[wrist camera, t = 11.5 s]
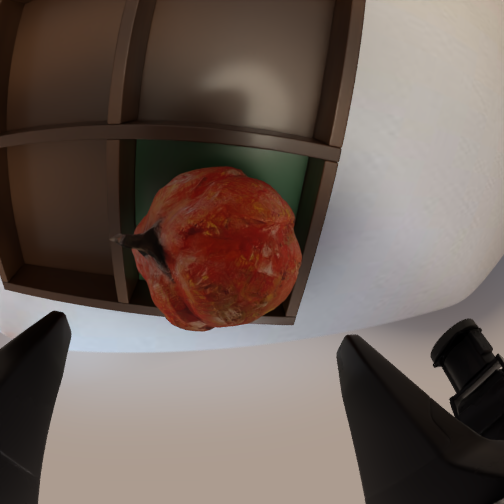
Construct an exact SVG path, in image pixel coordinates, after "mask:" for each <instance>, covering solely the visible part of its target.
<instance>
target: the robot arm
mask: <svg viewBox="0 0 504 504" xmlns="http://www.w3.org/2000/svg"><path fill="white" fill-rule="evenodd" d="M481 332H482V329H481V328H475V329H469V330H462V331H457V332H456V333H455V334H454V336H453V337H452V338H451V340H450V341H449V343H448V344H447V346H446V347H445V348H444V350H443V351H442V353H441V354H440V355H439V357H438V358H437V359H436V361H435V362H434V363H433V367H434V368H436V367H442V369H443V370H444V372H445V374H446V375H447V377H448V379H449V381H450V382H451V384H452V386H453V388H454V390H455V391H456V393H457V394H455V395H454V396H452V397H451V398H450V399H449V400H450V404H451V408H452V410H453V413H454V416H455V417H454V416H452V415H451V414H450V413H448V412H447V411H446V410H445V409H444V408H442V407H441V406H440V405H439V404H438V403H436V402H435V401H434V400H433V399H432V398H430V397H429V396H428V395H427V394H426V393H425V392H424V391H423V390H421V389H420V388H419V387H418V386H417V385H416V384H414V383H413V382H412V381H411V380H410V379H408V377H406V376H405V375H404V374H403V373H402V372H401V371H399V370H398V369H397V368H396V367H395V366H394V365H393V364H391V363H390V362H389V361H388V360H387V359H385V358H384V357H383V356H382V355H381V354H380V353H378V352H377V351H376V350H375V349H374V348H373V347H372V346H371V345H369V344H368V343H367V342H366V341H365V340H364V339H362V338H361V337H360V336H358V335H346V336H345V337H344V339H343V341H342V343H341V345H340V347H339V349H338V351H337V364H338V370H339V378H340V385H341V392H342V397H343V402H344V406H345V410H346V414H347V418H348V422H349V427H350V431H351V435H352V439H353V444H354V448H355V453H356V457H357V462H358V466H359V471H360V476H361V481H362V486H363V491H364V496H365V502H366V504H504V359H503V357H501V356H500V355H499V354H497V355H496V357H495V356H494V355H493V353H492V350H493V348H492V346H491V345H490V344H489V342H488V341H487V340H486V338H485V337H484V335H483V334H482V333H481ZM70 340H71V329H70V327H69V324H68V321H67V318H66V315H65V314H64V313H63V312H59V311H52V312H50V313H49V314H48V315H46V316H45V317H43V318H42V319H40V320H39V321H38V322H36V323H35V324H33V325H32V326H31V327H29V328H28V329H26V330H25V331H24V332H22V333H21V334H20V335H18V336H17V337H15V338H14V339H13V340H11V341H10V342H9V343H7V344H6V345H5V346H4V347H2V348H1V349H0V504H38V495H39V485H40V476H41V469H42V462H43V455H44V450H45V445H46V439H47V434H48V430H49V426H50V421H51V417H52V413H53V408H54V405H55V401H56V397H57V394H58V390H59V387H60V384H61V380H62V376H63V372H64V367H65V362H66V357H67V352H68V348H69V344H70ZM501 366H502V369H499V368H500V367H501ZM498 369H499V370H498Z"/></svg>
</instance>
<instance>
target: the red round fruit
mask: <svg viewBox="0 0 504 504" xmlns="http://www.w3.org/2000/svg"><path fill="white" fill-rule="evenodd" d="M294 222H295V216H294V213H293V211H292V209H291V208H290V206H289V205H288V203H287V202H286V201H285V200H284V199H283V198H282V197H281V196H280V195H279V194H278V193H277V191H276V190H275V189H273V188H272V187H271V186H270V185H269V184H267V183H265V182H264V181H261V180H258V179H254V178H250V177H247V176H246V175H245V174H244V173H243V172H242V170H239V169H236V168H233V167H228V166H224V167H209V168H201V169H196V170H192V171H189V172H185V173H182V174H180V175H178V176H176V177H175V178H173V179H172V180H171V181H170V182H169V183H168V184H167V185H166V186H164V187H163V188H161V189H160V190H159V191H158V192H157V194H156V195H155V197H154V199H153V202H152V204H151V206H150V209H149V211H148V214H147V215H146V216H145V217H144V218H143V219H142V221H141V222H140V223H139V224H138V225H137V227H136V229H135V231H134V235H132V234H120V233H119V234H117V235H115V236H113V237H112V238H110V239H109V240H110V241H112V242H115V243H117V244H119V245H121V246H122V247H124V248H131V249H132V253H133V255H134V258H135V262H136V266H137V269H138V271H139V272H140V273H141V275H142V277H143V278H144V279H145V280H146V281H147V284H148V287H149V290H150V294H151V298H152V300H153V302H154V304H155V305H156V306H157V308H158V309H159V310H160V311H161V312H162V313H163V314H164V315H165V317H166V319H167V320H168V321H169V322H170V323H171V324H173V325H174V326H177V327H179V328H182V329H185V330H190V331H208V330H211V329H213V328H214V327H228V326H237V325H243V324H248V323H250V322H252V321H254V320H256V319H258V318H260V317H261V316H263V315H265V314H266V313H268V312H270V311H272V310H274V309H275V308H276V307H277V306H279V305H280V304H281V303H282V302H283V301H284V300H286V298H287V297H288V295H289V294H290V292H291V290H292V288H293V286H294V284H295V282H296V280H297V275H298V273H299V272H298V271H299V268H300V266H301V260H302V254H301V250H300V247H299V244H298V241H297V238H296V236H295V234H294V228H293V227H294Z"/></svg>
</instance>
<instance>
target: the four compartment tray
mask: <svg viewBox="0 0 504 504" xmlns="http://www.w3.org/2000/svg"><path fill="white" fill-rule="evenodd" d="M365 2H366V0H0V276H1V279H2V281H3V285H4V288H5V289H6V290H10V291H14V292H18V293H22V294H27V295H31V296H36V297H41V298H46V299H51V300H56V301H61V302H66V303H72V304H77V305H83V306H89V307H95V308H102V309H108V310H115V311H122V312H129V313H137V314H145V315H153V316H162V317H165V315H164V314H163V313H162V312H161V311H160V310H159V309H158V308H157V306H156V305H155V304H154V302H153V300H152V298H151V294H150V290H149V287H148V284H147V281H146V280H145V279H144V278H143V277H142V275H141V273H140V272H139V271H138V269H137V266H136V262H135V258H134V255H133V253H132V249H131V248H124V247H122V246H121V245H119V244H117V243H115V242H112V241H110V240H109V239H110V238H112V237H113V236H115V235H117V234H119V233H120V234H132V235H134V231H135V229H136V227H137V225H138V224H139V223H140V222H141V221H142V219H143V218H144V217H145V216H146V215H147V214H148V211H149V209H150V206H151V204H152V202H153V199H154V197H155V195H156V194H157V192H158V191H159V190H160V189H161V188H163V187H164V186H166V185H167V184H168V183H169V182H170V181H171V180H172V179H173V178H175V177H176V176H178V175H180V174H182V173H185V172H189V171H192V170H196V169H201V168H209V167H224V166H228V167H233V168H236V169H239V170H242V172H243V173H244V174H245V175H246V176H247V177H250V178H254V179H258V180H261V181H264V182H265V183H267V184H269V185H270V186H271V187H272V188H273V189H275V190H276V191H277V193H278V194H279V195H280V196H281V197H282V198H283V199H284V200H285V201H286V202H287V203H288V205H289V206H290V208H291V209H292V211H293V213H294V216H295V222H294V227H293V228H294V234H295V236H296V238H297V241H298V244H299V247H300V250H301V254H302V260H301V266H300V268H299V271H298V272H299V273H298V275H297V280H296V282H295V284H294V286H293V288H292V290H291V292H290V294H289V295H288V297H287V298H286V300H284V301H283V302H282V303H281V304H280V305H279V306H277V307H276V308H275V309H274V310H272V311H270V312H268V313H266V314H265V315H263V316H261V317H260V318H258V319H256V320H254V321H252V322H250V323H248V324H270V325H294V322H295V319H296V315H297V312H298V309H299V306H300V302H301V299H302V296H303V293H304V290H305V286H306V283H307V280H308V277H309V273H310V270H311V266H312V263H313V260H314V256H315V253H316V249H317V246H318V242H319V238H320V235H321V231H322V227H323V224H324V220H325V216H326V212H327V208H328V204H329V200H330V196H331V192H332V188H333V184H334V180H335V176H336V172H337V167H338V163H337V162H339V159H340V154H341V148H342V145H343V140H344V135H345V131H346V126H347V121H348V116H349V110H350V105H351V100H352V94H353V89H354V83H355V77H356V71H357V64H358V58H359V51H360V44H361V37H362V29H363V21H364V12H365Z"/></svg>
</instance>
